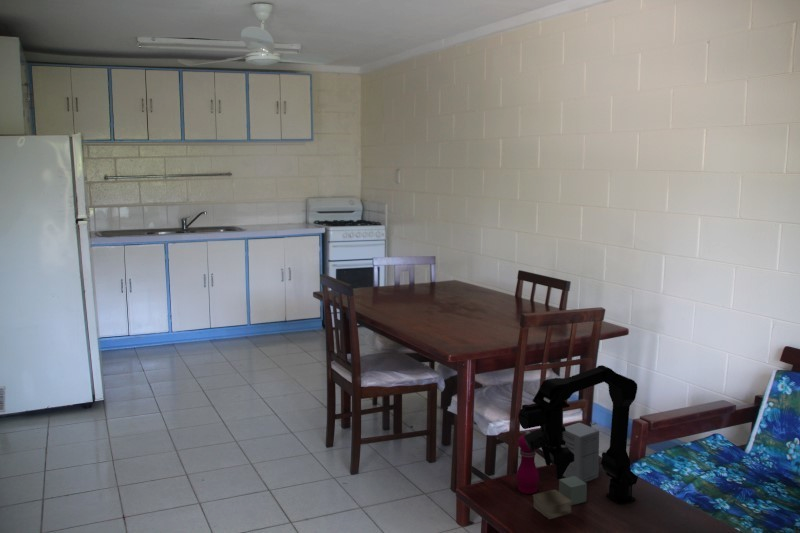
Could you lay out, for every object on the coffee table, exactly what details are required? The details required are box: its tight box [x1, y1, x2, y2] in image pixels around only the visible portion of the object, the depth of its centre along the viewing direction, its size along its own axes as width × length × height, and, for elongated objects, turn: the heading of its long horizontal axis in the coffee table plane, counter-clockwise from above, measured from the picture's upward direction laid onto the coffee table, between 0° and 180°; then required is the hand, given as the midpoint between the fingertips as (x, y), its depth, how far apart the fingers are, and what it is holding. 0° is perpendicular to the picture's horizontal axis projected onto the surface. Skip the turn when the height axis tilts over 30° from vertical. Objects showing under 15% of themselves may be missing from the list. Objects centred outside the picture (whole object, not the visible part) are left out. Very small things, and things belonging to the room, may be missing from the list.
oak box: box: [532, 489, 572, 520], centre depth 205 cm, size 8×8×4 cm
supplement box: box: [561, 422, 600, 483], centre depth 226 cm, size 10×9×17 cm
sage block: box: [558, 476, 588, 506], centre depth 211 cm, size 6×6×6 cm
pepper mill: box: [515, 430, 540, 495], centre depth 217 cm, size 7×7×20 cm
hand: (553, 472), depth 201 cm, fingers open, 9 cm apart
